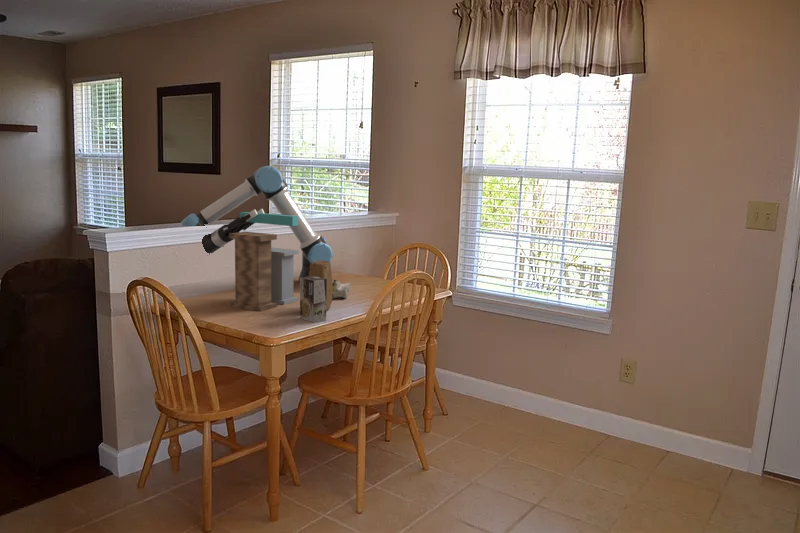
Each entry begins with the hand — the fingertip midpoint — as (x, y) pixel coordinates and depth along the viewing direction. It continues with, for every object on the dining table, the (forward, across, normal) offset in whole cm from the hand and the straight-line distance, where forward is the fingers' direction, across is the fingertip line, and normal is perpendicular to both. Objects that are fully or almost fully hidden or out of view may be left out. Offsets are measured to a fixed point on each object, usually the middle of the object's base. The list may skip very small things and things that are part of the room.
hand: (259, 211), depth 266 cm
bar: (+2, 0, -6) cm, 7 cm away
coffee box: (+17, +19, -54) cm, 59 cm away
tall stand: (-11, +15, -37) cm, 42 cm away
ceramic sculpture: (+4, -18, -46) cm, 50 cm away
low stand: (-11, 0, -37) cm, 39 cm away
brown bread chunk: (+11, +4, -50) cm, 51 cm away
